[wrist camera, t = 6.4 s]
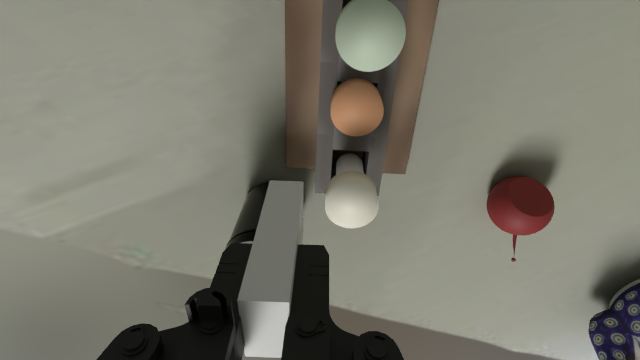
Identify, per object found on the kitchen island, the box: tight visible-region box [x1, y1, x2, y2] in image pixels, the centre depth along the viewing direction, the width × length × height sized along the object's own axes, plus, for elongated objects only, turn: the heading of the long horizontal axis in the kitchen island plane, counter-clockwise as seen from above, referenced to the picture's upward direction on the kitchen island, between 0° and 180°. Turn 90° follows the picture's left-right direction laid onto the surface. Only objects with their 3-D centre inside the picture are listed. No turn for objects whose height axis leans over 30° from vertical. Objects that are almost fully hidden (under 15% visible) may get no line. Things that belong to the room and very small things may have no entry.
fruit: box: [487, 176, 554, 262], centre depth 37 cm, size 6×6×8 cm
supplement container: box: [225, 182, 269, 250], centre depth 37 cm, size 7×7×10 cm
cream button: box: [325, 154, 379, 228], centre depth 29 cm, size 4×4×6 cm
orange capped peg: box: [331, 78, 384, 136], centre depth 30 cm, size 4×4×6 cm
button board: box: [285, 0, 439, 196], centre depth 31 cm, size 12×18×6 cm
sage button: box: [335, 0, 406, 72], centre depth 23 cm, size 4×4×6 cm
